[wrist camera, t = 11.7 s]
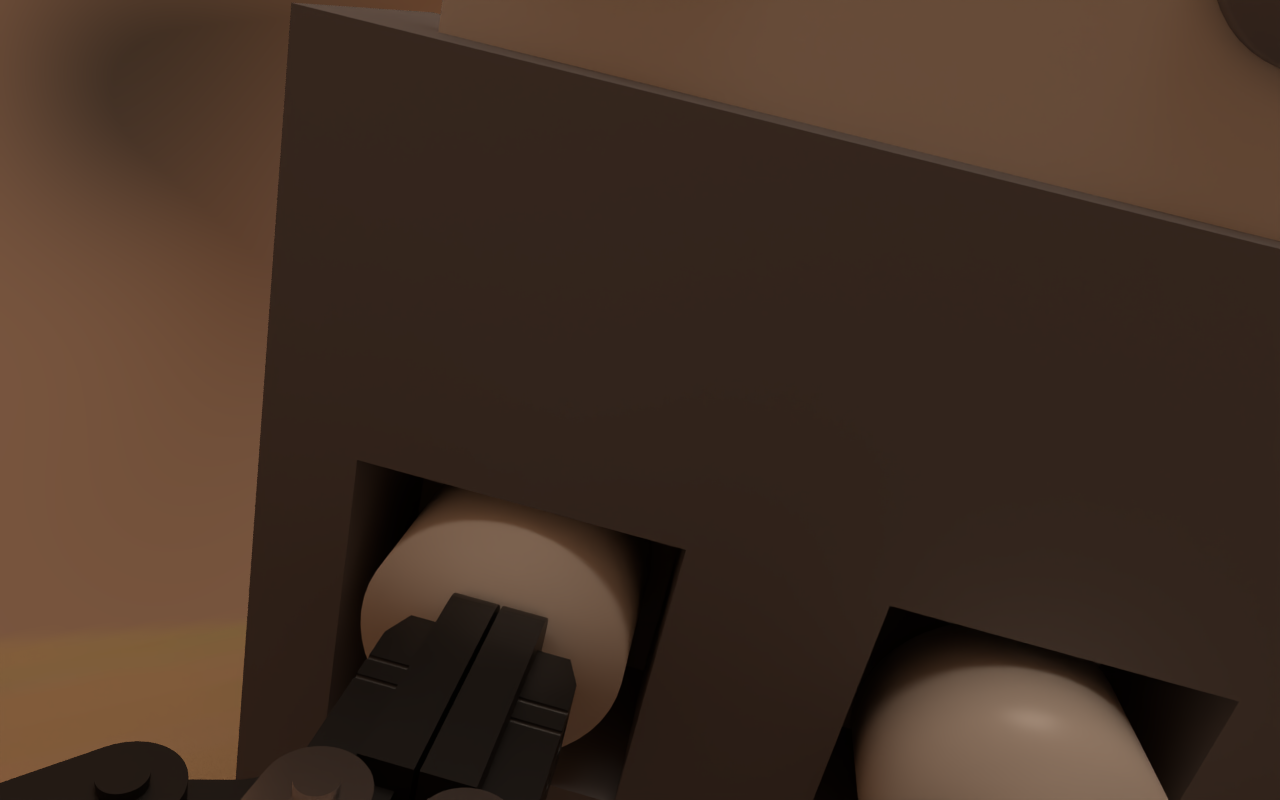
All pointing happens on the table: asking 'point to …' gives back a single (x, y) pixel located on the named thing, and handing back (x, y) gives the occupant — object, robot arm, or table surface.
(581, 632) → the button
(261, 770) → the button panel
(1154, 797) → the middle button
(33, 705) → the table surface
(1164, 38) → the card
